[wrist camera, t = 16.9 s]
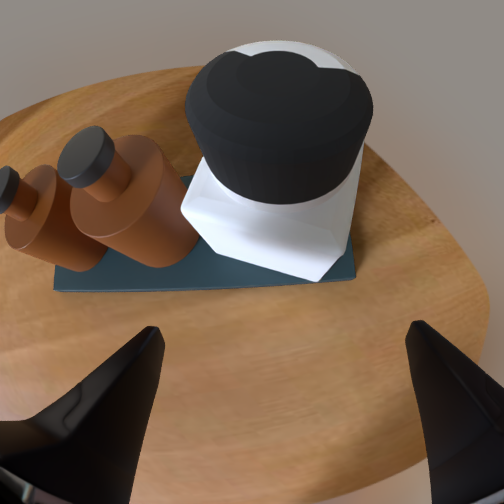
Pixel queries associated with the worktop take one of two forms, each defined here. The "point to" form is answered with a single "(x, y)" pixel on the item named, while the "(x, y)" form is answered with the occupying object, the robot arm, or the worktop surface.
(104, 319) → the worktop surface
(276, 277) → the tray
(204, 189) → the medicine bottle
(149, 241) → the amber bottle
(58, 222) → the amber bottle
